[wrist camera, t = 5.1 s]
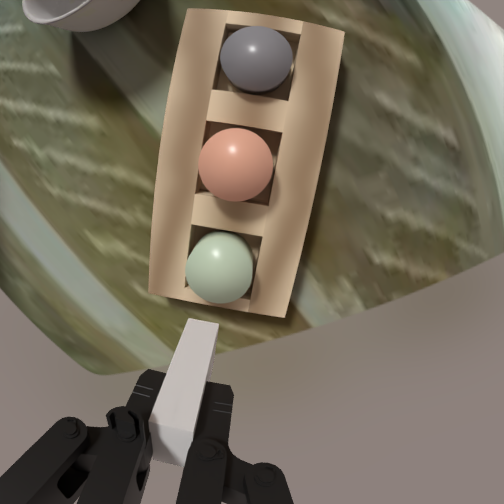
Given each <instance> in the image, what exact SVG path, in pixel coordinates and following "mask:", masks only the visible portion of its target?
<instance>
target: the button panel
mask: <svg viewBox="0 0 504 504" xmlns="http://www.w3.org/2000/svg"><path fill="white" fill-rule="evenodd" d="M250 26H263V27H268V28H271V29H273V30H275V31H277V32H278V33H280V34H281V35H282V36H283V37H284V38H285V39H286V40H287V41H288V43H289V45H290V47H291V50H292V56H293V59H292V65H291V68H290V71H289V73H288V76H287V78H286V80H285V81H284V83H283V84H282V85H281V86H280V87H279V88H278V89H276V90H274V91H273V92H270V93H267V94H263V95H251V94H247V93H244V92H242V91H240V90H238V89H237V88H236V87H234V86H233V85H232V83H231V82H230V81H229V79H228V77H227V76H226V74H225V72H224V70H223V68H222V65H221V61H220V54H221V49H222V47H223V44H224V43H225V41H226V40H227V39H228V37H229V36H231V35H232V34H233V33H234V32H236V31H238V30H240V29H242V28H245V27H250ZM344 33H345V32H343V31H340V30H336V29H332V28H329V27H325V26H321V25H316V24H312V23H308V22H303V21H298V20H293V19H288V18H282V17H276V16H270V15H263V14H256V13H248V12H239V11H228V10H214V9H188V10H187V14H186V17H185V21H184V25H183V29H182V33H181V37H180V42H179V46H178V50H177V55H176V59H175V64H174V69H173V74H172V79H171V84H170V89H169V94H168V100H167V106H166V111H165V117H164V124H163V130H162V137H161V144H160V151H159V159H158V167H157V176H156V185H155V194H154V205H153V217H152V230H151V245H150V265H149V293H151V294H156V295H160V296H165V297H170V298H175V299H180V300H185V301H190V302H195V303H200V304H206V305H211V306H216V307H222V308H228V309H233V310H239V311H245V312H251V313H257V314H263V315H269V316H276V317H282V318H285V315H286V311H287V307H288V303H289V299H290V296H291V292H292V288H293V284H294V280H295V276H296V272H297V268H298V264H299V260H300V256H301V252H302V248H303V244H304V239H305V235H306V231H307V227H308V222H309V218H310V213H311V209H312V205H313V200H314V196H315V191H316V186H317V182H318V177H319V172H320V168H321V163H322V158H323V153H324V148H325V143H326V138H327V133H328V127H329V122H330V117H331V111H332V106H333V100H334V95H335V89H336V83H337V77H338V71H339V65H340V59H341V53H342V46H343V40H344ZM230 128H241V129H246V130H249V131H251V132H253V133H255V134H257V135H258V136H259V137H261V138H262V139H263V140H264V142H265V143H266V144H267V146H268V147H269V149H270V152H271V155H272V159H273V171H272V175H271V178H270V180H269V182H268V184H267V186H266V187H265V188H264V189H263V190H262V191H261V192H260V193H259V194H258V195H256V196H254V197H253V198H250V199H248V200H245V201H237V202H233V201H227V200H223V199H221V198H219V197H217V196H215V195H214V194H212V193H211V192H210V191H209V190H208V189H207V188H206V187H205V185H204V184H203V182H202V180H201V177H200V174H199V169H198V161H199V155H200V152H201V150H202V148H203V146H204V145H205V143H206V142H207V141H208V140H209V139H210V138H211V137H212V136H213V135H215V134H216V133H218V132H220V131H222V130H226V129H230ZM215 230H228V231H232V232H235V233H237V234H239V235H240V236H242V237H243V238H244V239H245V240H246V241H247V242H248V244H249V245H250V247H251V249H252V253H253V271H252V281H251V284H250V286H249V288H248V290H247V291H246V293H245V294H244V295H243V296H242V297H240V298H239V299H237V300H235V301H232V302H229V303H223V304H222V303H212V302H209V301H206V300H204V299H202V298H201V297H199V296H198V295H197V294H195V293H194V291H193V290H192V289H191V288H190V286H189V284H188V282H187V279H186V275H185V267H186V262H187V260H188V258H189V256H190V254H191V252H192V251H193V249H194V248H195V246H196V244H197V243H198V241H199V240H200V239H201V238H202V237H203V236H204V235H206V234H207V233H209V232H212V231H215Z"/></svg>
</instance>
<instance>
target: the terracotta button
mask: <svg viewBox="0 0 504 504" xmlns="http://www.w3.org/2000/svg"><path fill="white" fill-rule="evenodd" d="M198 169H199V174H200V177H201V180H202V182H203V184H204V185H205V187H206V188H207V189H208V190H209V191H210V192H211V193H212V194H214V195H215V196H217V197H219V198H221V199H223V200H227V201H233V202H237V201H245V200H248V199H250V198H253V197H254V196H256V195H258V194H259V193H260V192H261V191H262V190H263V189H264V188H265V187H266V186H267V184H268V182H269V180H270V178H271V175H272V171H273V159H272V155H271V152H270V149H269V147H268V146H267V144H266V143H265V142H264V140H263V139H262V138H261V137H259V136H258V135H257V134H255V133H253V132H251V131H249V130H246V129H241V128H230V129H226V130H222V131H220V132H218V133H216V134H215V135H213V136H212V137H211V138H210V139H209V140H208V141H207V142H206V143H205V145H204V146H203V148H202V150H201V152H200V155H199V161H198Z"/></svg>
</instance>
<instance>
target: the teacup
mask: <svg viewBox="0 0 504 504" xmlns="http://www.w3.org/2000/svg"><path fill="white" fill-rule="evenodd" d="M139 1H140V0H22V4H23V11H24V13H25V15H26V17H27V18H28V19H29V20H30V21H32V22H34V23H37V24H47V25H50V26H54V27H57V28H61V29H65V30H69V31H75V32H88V31H94V30H98V29H101V28H104V27H106V26H108V25H110V24H112V23H114V22H116V21H117V20H119V19H120V18H122V17H123V16H125V15H126V14H127V13H128V12H130V11H131V10H132V9H133V8H134V7H135V6H136V4H137V3H138V2H139Z"/></svg>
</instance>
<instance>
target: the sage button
mask: <svg viewBox="0 0 504 504" xmlns="http://www.w3.org/2000/svg"><path fill="white" fill-rule="evenodd" d="M252 271H253V253H252V249H251V247H250V245H249V244H248V242H247V241H246V240H245V239H244V238H243V237H242V236H240V235H239V234H237V233H235V232H232V231H228V230H215V231H212V232H209V233H207V234H206V235H204V236H203V237H202V238H201V239H200V240H199V241H198V243H197V244H196V246H195V248H194V249H193V251H192V252H191V254H190V256H189V258H188V260H187V262H186V267H185V275H186V279H187V282H188V284H189V286H190V288H191V289H192V290H193V291H194V293H195V294H197V295H198V296H199V297H201V298H202V299H204V300H206V301H209V302H212V303H222V304H223V303H229V302H232V301H235V300H237V299H239V298H240V297H242V296H243V295H244V294H245V293H246V291H247V290H248V288H249V286H250V284H251V281H252Z"/></svg>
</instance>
